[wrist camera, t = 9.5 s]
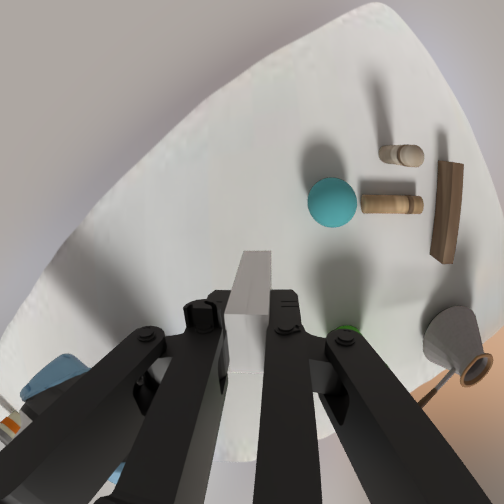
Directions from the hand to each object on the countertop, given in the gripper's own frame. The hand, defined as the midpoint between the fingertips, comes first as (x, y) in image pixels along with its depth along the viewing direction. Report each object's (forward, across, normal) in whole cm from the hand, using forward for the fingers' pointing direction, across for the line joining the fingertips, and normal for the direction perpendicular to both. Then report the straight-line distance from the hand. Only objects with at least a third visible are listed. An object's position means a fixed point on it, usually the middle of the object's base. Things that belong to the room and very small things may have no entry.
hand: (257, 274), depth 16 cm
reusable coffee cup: (+23, +96, +76) cm, 125 cm away
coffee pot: (+23, -27, +23) cm, 42 cm away
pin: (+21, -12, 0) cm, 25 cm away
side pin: (+22, -16, -7) cm, 28 cm away
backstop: (+22, -26, 0) cm, 34 cm away
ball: (+19, -8, -1) cm, 21 cm away
